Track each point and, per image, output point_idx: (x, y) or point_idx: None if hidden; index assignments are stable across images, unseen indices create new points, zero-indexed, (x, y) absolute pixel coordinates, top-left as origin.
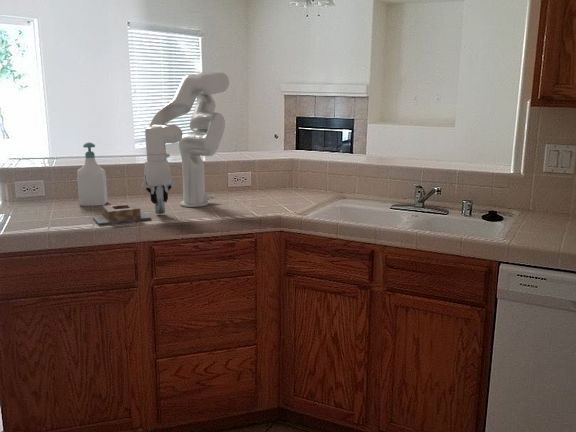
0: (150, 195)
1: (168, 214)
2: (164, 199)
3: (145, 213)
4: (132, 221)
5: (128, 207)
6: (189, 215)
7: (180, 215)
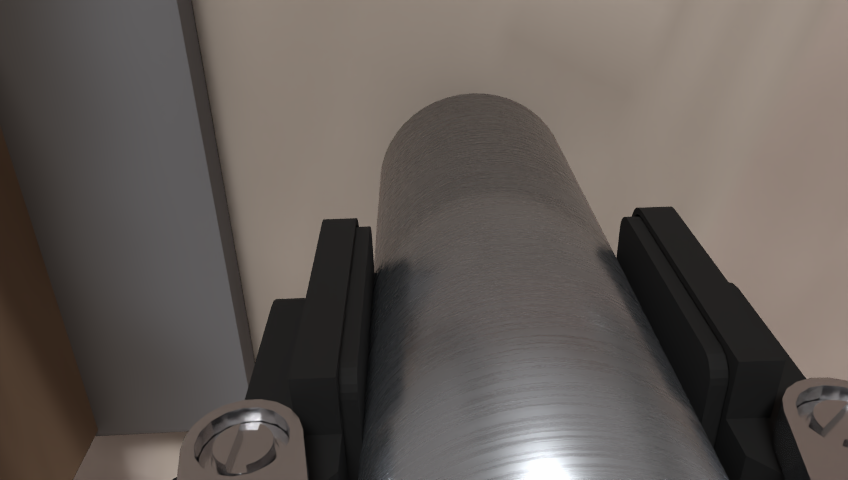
0: (249, 390)
1: (606, 174)
2: None
3: (196, 137)
4: None
5: None
6: (842, 357)
7: None
